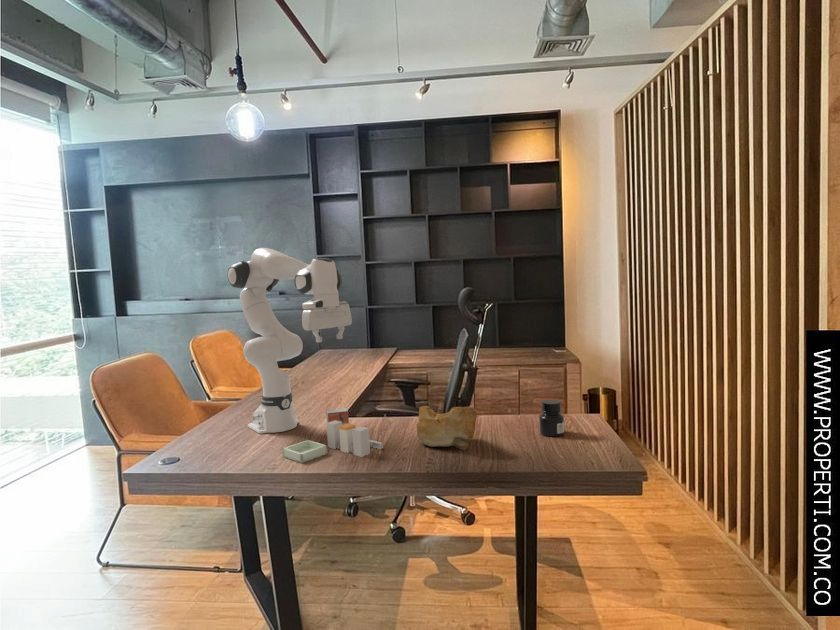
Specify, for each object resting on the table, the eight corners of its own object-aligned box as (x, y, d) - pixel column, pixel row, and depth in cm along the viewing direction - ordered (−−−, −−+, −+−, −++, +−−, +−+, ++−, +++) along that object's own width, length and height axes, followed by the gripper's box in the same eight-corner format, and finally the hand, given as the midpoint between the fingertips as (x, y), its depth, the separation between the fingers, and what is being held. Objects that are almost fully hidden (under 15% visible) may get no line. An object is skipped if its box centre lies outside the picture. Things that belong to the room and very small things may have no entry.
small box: (328, 440, 186) (327, 413, 185) (327, 436, 191) (325, 409, 191) (349, 437, 188) (348, 410, 187) (348, 433, 194) (346, 407, 193)
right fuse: (353, 454, 169) (352, 429, 169) (362, 451, 172) (360, 426, 172) (361, 457, 167) (360, 431, 166) (370, 453, 170) (368, 428, 169)
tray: (282, 456, 170) (282, 448, 170) (308, 447, 178) (307, 439, 178) (301, 463, 163) (301, 454, 163) (327, 453, 171) (326, 445, 171)
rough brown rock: (493, 444, 176) (492, 402, 176) (471, 454, 162) (470, 409, 163) (438, 437, 189) (437, 398, 189) (413, 446, 175) (412, 404, 176)
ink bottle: (565, 438, 177) (564, 405, 176) (540, 437, 179) (539, 405, 178) (563, 429, 186) (562, 398, 185) (539, 429, 188) (538, 398, 187)
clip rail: (329, 446, 179) (328, 438, 179) (349, 439, 186) (349, 431, 186) (362, 456, 167) (362, 447, 167) (383, 448, 175) (383, 439, 174)
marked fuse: (340, 450, 174) (339, 425, 173) (349, 447, 177) (347, 423, 176) (347, 453, 171) (346, 427, 171) (356, 449, 174) (355, 424, 174)
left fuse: (327, 447, 178) (326, 422, 178) (336, 444, 181) (335, 420, 181) (335, 449, 176) (333, 424, 175) (343, 446, 179) (342, 421, 178)
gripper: (343, 300, 187) (345, 337, 188) (298, 304, 171) (301, 343, 172) (354, 300, 183) (356, 337, 183) (309, 303, 167) (312, 344, 168)
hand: (329, 340), depth 178 cm, fingers open, 8 cm apart
